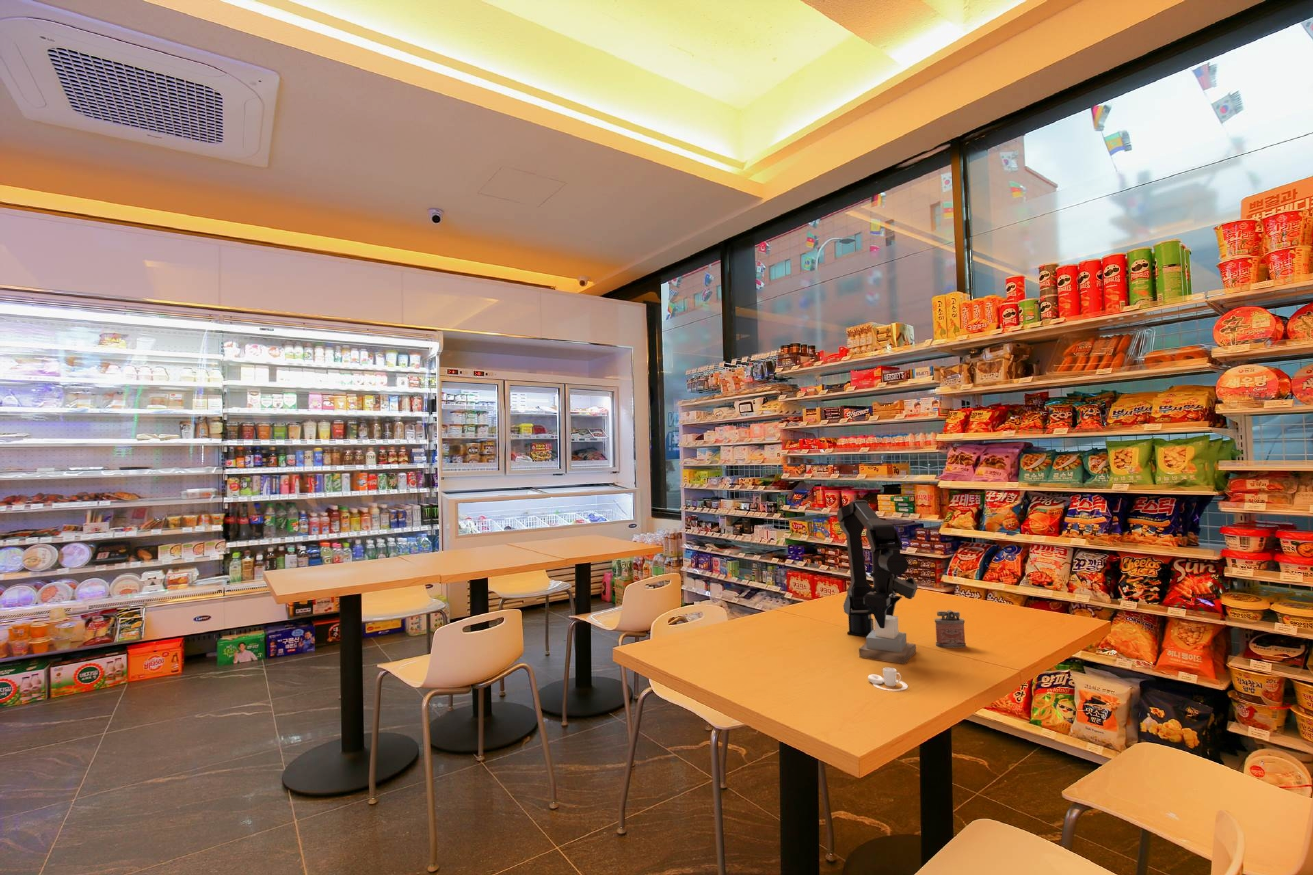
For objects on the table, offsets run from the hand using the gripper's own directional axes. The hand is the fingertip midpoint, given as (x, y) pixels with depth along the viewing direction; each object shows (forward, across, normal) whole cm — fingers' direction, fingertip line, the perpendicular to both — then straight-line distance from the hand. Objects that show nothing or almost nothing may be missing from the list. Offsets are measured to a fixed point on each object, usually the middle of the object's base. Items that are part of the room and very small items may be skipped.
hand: (885, 625), depth 171 cm
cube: (+3, 0, 0) cm, 3 cm away
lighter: (+8, +17, -13) cm, 23 cm away
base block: (+9, 0, 0) cm, 9 cm away
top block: (+6, 0, 0) cm, 6 cm away
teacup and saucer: (+9, -21, -6) cm, 23 cm away
